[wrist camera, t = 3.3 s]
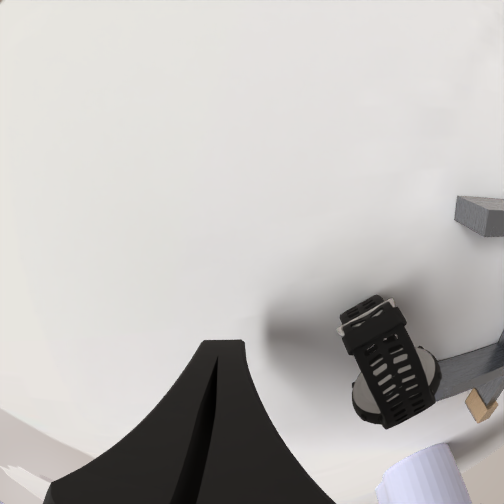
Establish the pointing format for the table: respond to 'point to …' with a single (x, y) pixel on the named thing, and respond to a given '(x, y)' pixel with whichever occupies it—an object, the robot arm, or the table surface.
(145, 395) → the table surface
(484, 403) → the bracket
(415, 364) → the smartwatch
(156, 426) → the robot arm
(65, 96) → the table surface
